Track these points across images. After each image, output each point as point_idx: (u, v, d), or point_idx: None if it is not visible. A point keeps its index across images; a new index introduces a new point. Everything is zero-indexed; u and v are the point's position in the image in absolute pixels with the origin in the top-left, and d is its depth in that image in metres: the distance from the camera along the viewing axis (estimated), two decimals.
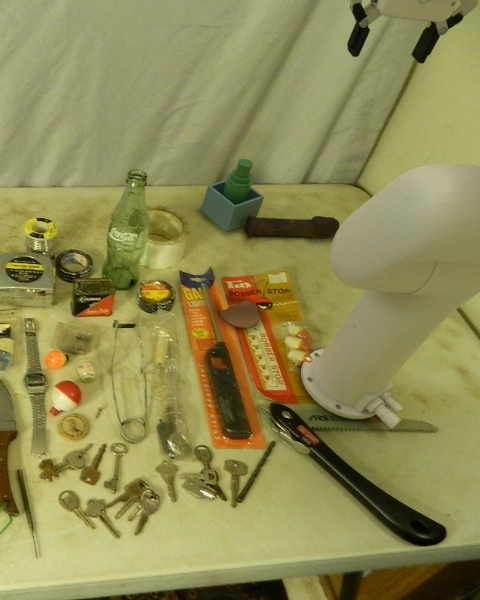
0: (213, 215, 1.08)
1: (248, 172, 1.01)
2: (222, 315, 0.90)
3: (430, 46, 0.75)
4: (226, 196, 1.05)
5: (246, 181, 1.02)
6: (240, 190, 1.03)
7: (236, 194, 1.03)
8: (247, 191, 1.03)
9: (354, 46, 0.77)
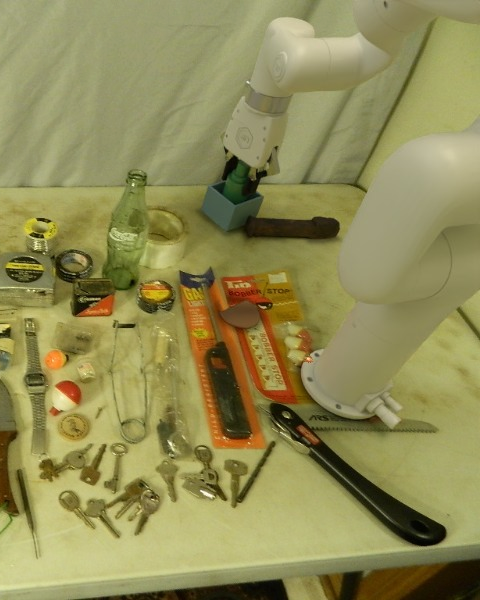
0: (213, 215, 1.08)
1: (248, 172, 1.01)
2: (222, 315, 0.90)
3: (245, 185, 1.01)
4: (226, 196, 1.05)
5: None
6: (240, 190, 1.03)
7: (236, 194, 1.03)
8: None
9: None
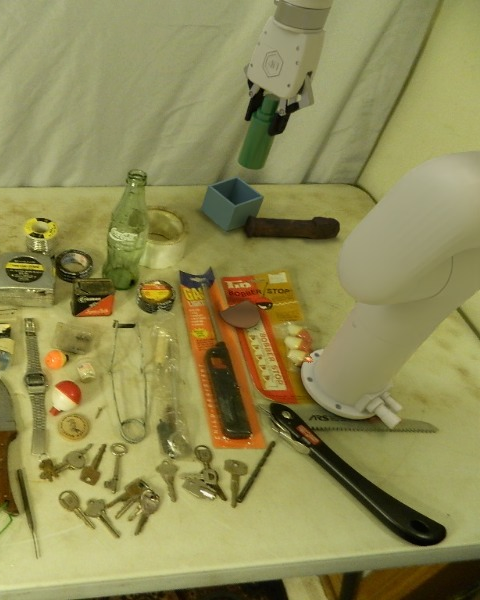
0: (213, 215, 1.08)
1: (276, 108, 0.89)
2: (222, 315, 0.90)
3: (273, 122, 0.89)
4: (250, 138, 0.93)
5: None
6: (267, 130, 0.91)
7: (261, 135, 0.91)
8: None
9: None
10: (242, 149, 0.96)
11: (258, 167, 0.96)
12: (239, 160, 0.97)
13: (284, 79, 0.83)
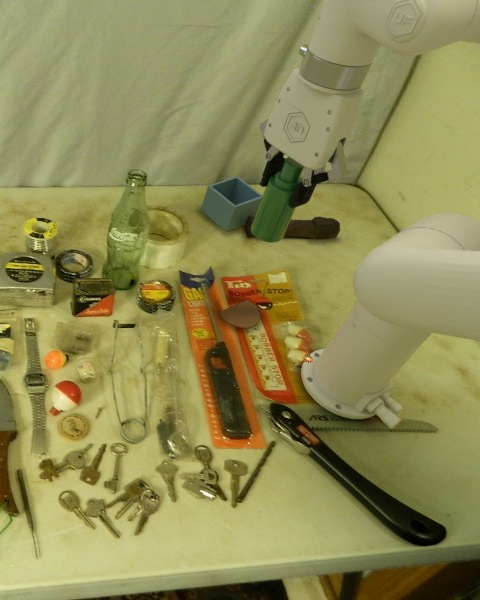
0: (213, 215, 1.08)
1: (299, 175, 0.74)
2: (222, 315, 0.90)
3: (295, 193, 0.73)
4: (267, 208, 0.77)
5: (295, 187, 0.74)
6: (287, 200, 0.75)
7: (280, 205, 0.76)
8: None
9: None
10: (256, 218, 0.80)
11: (275, 240, 0.80)
12: (253, 230, 0.82)
13: (311, 146, 0.67)
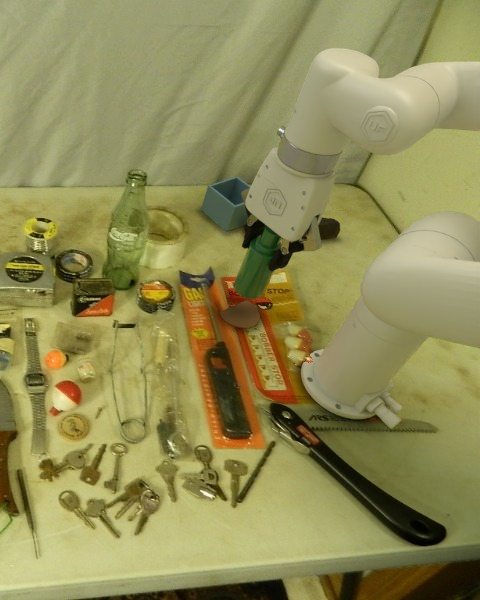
0: (213, 215, 1.08)
1: (277, 241, 0.78)
2: (222, 315, 0.90)
3: (274, 258, 0.78)
4: (248, 269, 0.82)
5: (274, 252, 0.79)
6: (267, 263, 0.80)
7: (260, 268, 0.81)
8: None
9: None
10: (239, 277, 0.85)
11: (256, 297, 0.85)
12: (235, 287, 0.86)
13: (288, 221, 0.72)
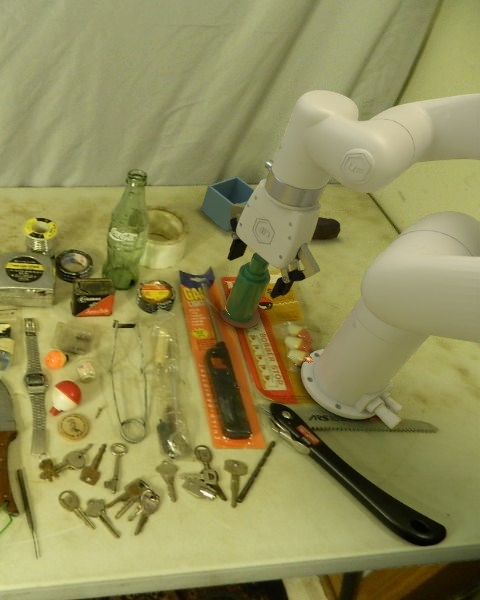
0: (213, 215, 1.08)
1: (265, 269, 0.82)
2: (222, 315, 0.90)
3: (276, 286, 0.80)
4: (237, 294, 0.86)
5: (262, 279, 0.83)
6: (255, 290, 0.84)
7: (249, 294, 0.85)
8: (263, 290, 0.85)
9: None
10: (229, 301, 0.89)
11: (246, 320, 0.89)
12: None
13: (276, 249, 0.76)
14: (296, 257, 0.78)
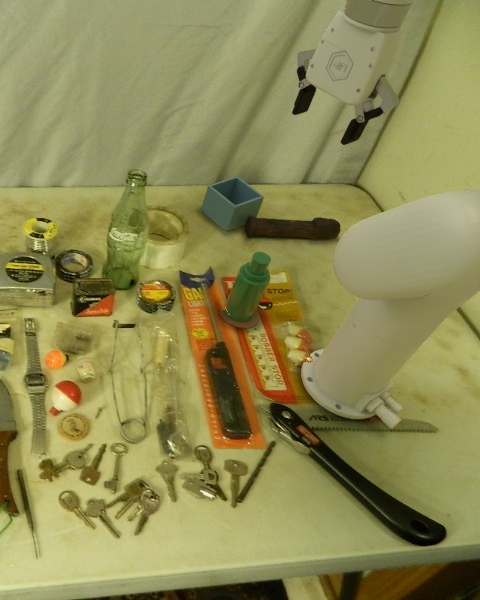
0: (213, 215, 1.08)
1: (265, 269, 0.82)
2: (222, 315, 0.90)
3: (348, 129, 0.78)
4: (237, 294, 0.86)
5: (262, 279, 0.83)
6: (255, 290, 0.84)
7: (249, 294, 0.85)
8: (263, 290, 0.85)
9: None
10: (229, 301, 0.89)
11: (246, 320, 0.89)
12: None
13: (353, 83, 0.74)
14: (371, 95, 0.76)
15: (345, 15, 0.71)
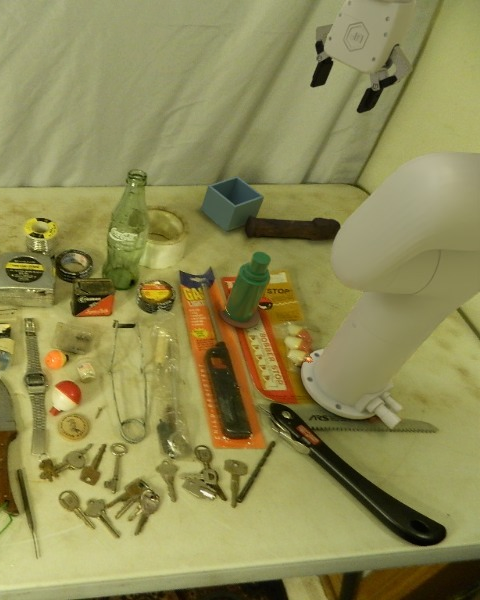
0: (213, 215, 1.08)
1: (265, 269, 0.82)
2: (222, 315, 0.90)
3: (364, 98, 0.83)
4: (237, 294, 0.86)
5: (262, 279, 0.83)
6: (255, 290, 0.84)
7: (249, 294, 0.85)
8: (263, 290, 0.85)
9: None
10: (229, 301, 0.89)
11: (246, 320, 0.89)
12: None
13: (369, 52, 0.79)
14: (386, 65, 0.81)
15: None
